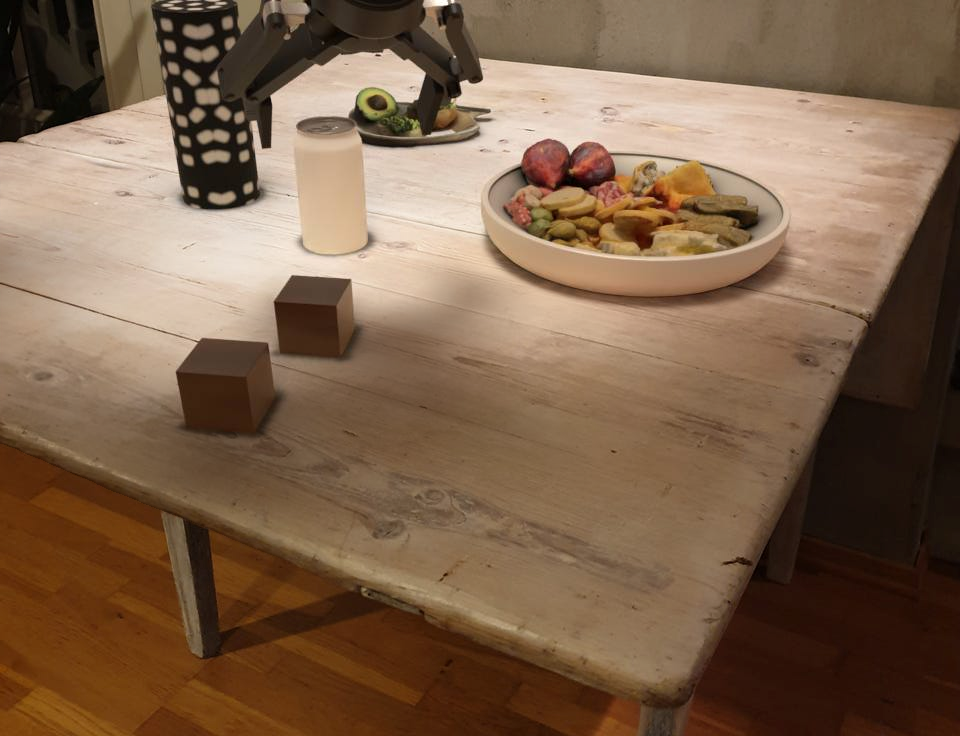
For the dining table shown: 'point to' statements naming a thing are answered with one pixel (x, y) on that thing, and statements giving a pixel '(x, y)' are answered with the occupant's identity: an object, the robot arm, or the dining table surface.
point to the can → (330, 184)
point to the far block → (315, 316)
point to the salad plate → (408, 120)
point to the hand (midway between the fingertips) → (345, 127)
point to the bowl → (632, 220)
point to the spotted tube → (205, 103)
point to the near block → (226, 385)
